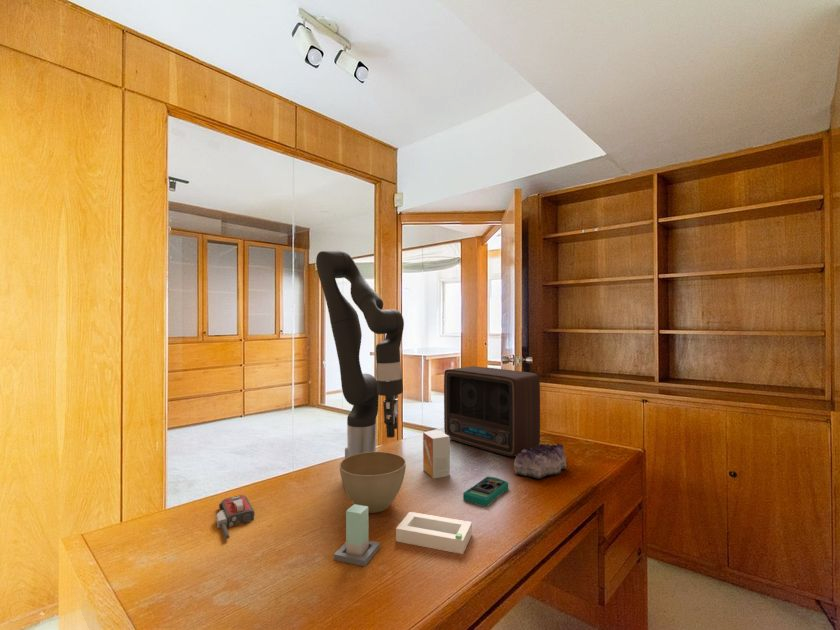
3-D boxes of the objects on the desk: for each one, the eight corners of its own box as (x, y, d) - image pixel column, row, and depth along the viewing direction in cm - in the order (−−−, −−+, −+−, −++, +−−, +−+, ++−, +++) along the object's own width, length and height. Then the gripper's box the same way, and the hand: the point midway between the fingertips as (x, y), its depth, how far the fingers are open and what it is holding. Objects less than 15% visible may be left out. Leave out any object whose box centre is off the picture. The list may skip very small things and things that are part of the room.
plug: (346, 556, 92) (346, 511, 92) (354, 548, 95) (354, 504, 95) (360, 560, 91) (360, 513, 91) (368, 551, 94) (368, 506, 94)
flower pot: (333, 499, 121) (333, 456, 121) (393, 488, 128) (392, 448, 128) (348, 528, 104) (348, 479, 104) (416, 514, 111) (415, 468, 111)
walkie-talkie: (211, 511, 115) (222, 544, 98) (211, 495, 115) (222, 525, 98) (245, 503, 119) (261, 534, 103) (245, 487, 119) (261, 515, 103)
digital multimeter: (509, 489, 128) (509, 479, 128) (486, 509, 115) (486, 497, 115) (486, 484, 132) (486, 474, 132) (462, 502, 120) (462, 491, 120)
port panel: (396, 541, 98) (395, 525, 98) (409, 523, 106) (409, 509, 106) (462, 554, 93) (462, 537, 93) (471, 534, 101) (471, 519, 101)
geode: (546, 460, 152) (549, 433, 151) (573, 474, 143) (577, 446, 142) (506, 470, 141) (509, 441, 140) (533, 486, 131) (537, 455, 130)
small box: (422, 470, 143) (422, 431, 143) (439, 467, 145) (439, 429, 145) (432, 478, 135) (432, 438, 135) (450, 475, 138) (450, 436, 138)
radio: (441, 440, 177) (440, 368, 177) (468, 432, 189) (468, 365, 189) (513, 462, 150) (513, 378, 150) (540, 451, 162) (540, 373, 162)
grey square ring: (334, 559, 91) (334, 554, 91) (351, 542, 98) (351, 537, 98) (364, 566, 88) (364, 560, 88) (379, 548, 95) (379, 542, 95)
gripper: (379, 374, 131) (382, 427, 131) (373, 382, 116) (376, 440, 116) (403, 373, 130) (406, 426, 130) (400, 380, 116) (403, 439, 116)
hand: (392, 432), depth 123 cm, fingers open, 8 cm apart
